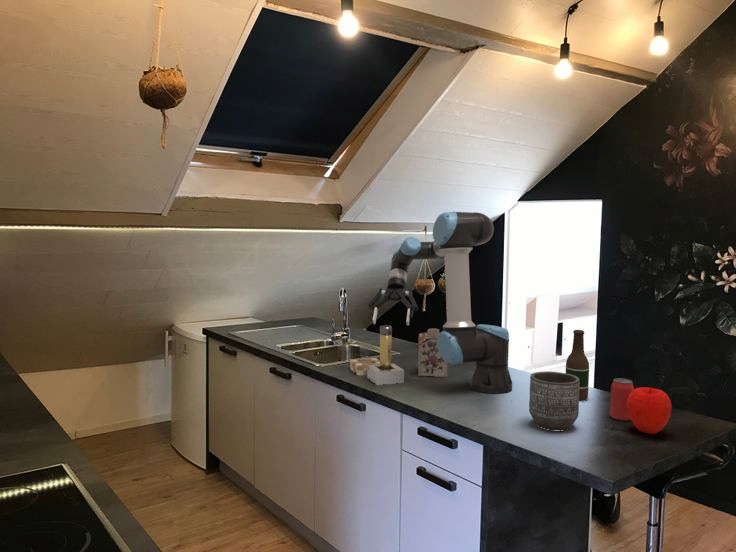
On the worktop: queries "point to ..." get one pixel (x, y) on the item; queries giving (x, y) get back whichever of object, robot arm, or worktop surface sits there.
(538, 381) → the planter
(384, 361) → the yellow glass cylinder
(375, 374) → the socket block
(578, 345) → the beer bottle
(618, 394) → the beer can
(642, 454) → the worktop surface
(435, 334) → the decorative jar
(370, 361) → the rack block
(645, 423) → the apple
